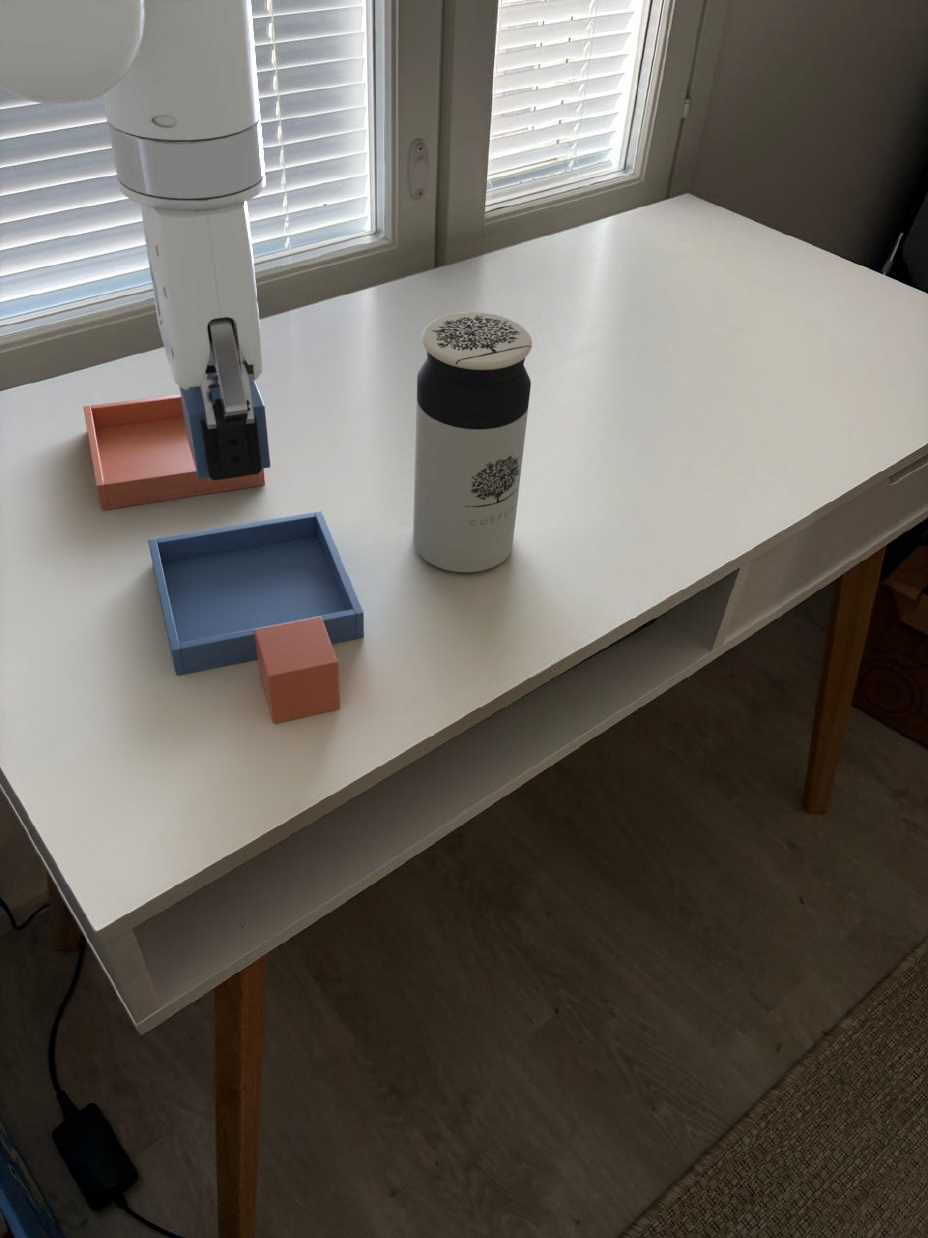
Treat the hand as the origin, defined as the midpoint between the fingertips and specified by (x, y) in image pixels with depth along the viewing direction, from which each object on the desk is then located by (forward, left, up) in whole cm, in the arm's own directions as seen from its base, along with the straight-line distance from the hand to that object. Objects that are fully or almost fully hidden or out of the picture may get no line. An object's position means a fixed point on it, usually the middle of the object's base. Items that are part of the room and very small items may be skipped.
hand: (227, 448), depth 64 cm
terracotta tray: (-2, +21, -14) cm, 25 cm away
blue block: (0, 0, 0) cm, 0 cm away
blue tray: (+1, +1, -14) cm, 14 cm away
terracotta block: (+2, -9, -14) cm, 17 cm away
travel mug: (+18, +3, -14) cm, 23 cm away
